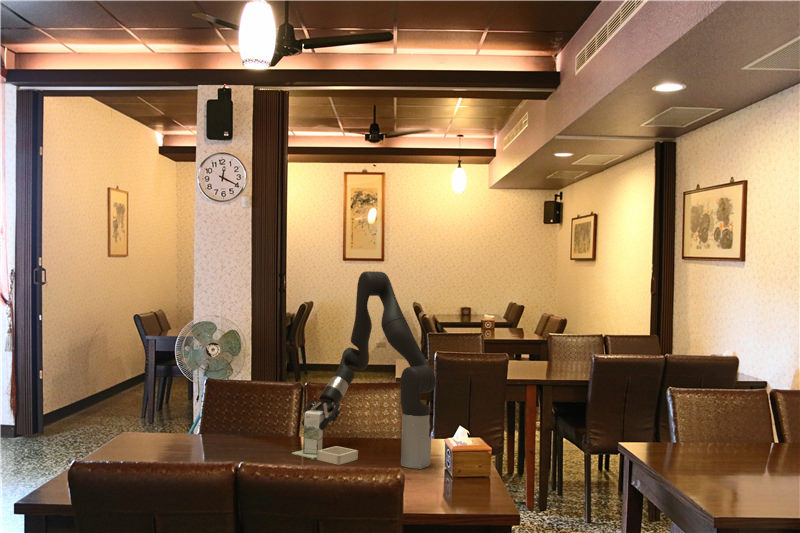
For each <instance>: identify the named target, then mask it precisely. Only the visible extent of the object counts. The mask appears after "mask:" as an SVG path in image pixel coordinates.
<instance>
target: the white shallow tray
mask: <svg viewBox="0 0 800 533" xmlns="http://www.w3.org/2000/svg"><path fill="white" fill-rule="evenodd" d="M291 455H295V456H299V457H304V458H308V459H310V460H311V461H313V460H317V461H319V462H325V463H329V464H335V465H337V466H340V465H344V464H346V463H351V462H353V461H357V460H358V459H359V450H357V449H352V448H349V447H348V448H347V447H343V446H338V445H335V446H331V447H327V448H322V450H319V451H317V454H305V453H303V449H301V450H298V451H297V450H296V451H294V452H291Z"/></svg>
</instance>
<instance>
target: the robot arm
mask: <svg viewBox="0 0 800 533" xmlns="http://www.w3.org/2000/svg"><path fill="white" fill-rule="evenodd" d="M356 286H357V287H356V300H355V315H354V316H355V318H354V322H353V328H352V331H351V336H350V343H351V344H352V345H353V346H354V347H356V348H354V347H347V348H346V349H344V351H343V353H342V356H341V360H340V362H339V365H338V368H337V370H336V371H335V373H334V375H333V376H332V378H330V380H329V381H328V383H327V384H326V385H325V387H324V388H323V391H322V392H321V393H320V394H319V399H318V401H315V400H314V399H311V400H310V401H309V403H308V404H307V405H306V406H305V408H304V409H303V414H304V415H305V412H306V411H308V410H311V411H323V413H324V416H323V421H322V422H321V424H320V425H319V428H320V429H321V430H323V431H324V430H325V429H326V428H327V427H328V424H329V423H330V422H333V423H334V422H335V421H337V418H339V415H340V413H341V412H342V407H341V406H340V405H339V404H340V403H341V401H342V399H343V398H344V396H345V394H346V393H347V390H348V388H349V386H350V385H351V384H352V382H353V380H354V379H355V372H354V371H353V370H352V369H351V368H353V369H355V370H358V371H364V370H365V369H367V367H368V366H369V362H370V352H369V351H370V350H369V347H370V346H369V342H370V337H371V333H372V329H373V328H372V327H373V324H372V318H371V316H370V313H369V308H368V302H369V298H370V297H379V299H380V301H381V303H382V307H383V312H382V315H381V321H380V324H381V329H382V332H383V334H384V336H385V339H386V340H387V343H388V344H389V345H390V346H391V347H392V348H393V349H394V350H395V351H396V352H397V353H399V354H400V355H401V356H402V357H403V358H404V359H405V360H406V362H407V363H408V365H409V366H408V367H405V368H404V369H403V370H402V372H401V376H400V404H401V409H402V417H401V418H402V420H401V421H402V422H401V445H400V446H401V448H400V449H401V450H400V465H401V467H405V468H409V469H420V470H422V469H424V468H427V467H428V468H429V467H430V466H431V459H432V458H431V456H432V437H431V436H430V411H431V410H430V406H429V404H426V403H424V402H422V400H421V394H425V393H426V394H427V393H431V392H432V391H433V390H434V389H435V387H436V382H437V380H436V375H435V372H434V369H433V368H432V367H431V365H430V363H429V361H428V359H427V358H426V357H425V354H424V353H423V352H422V350H421V348H420V346H419V345H418V344H419V343H418V341H416V338H415V337H414V335H413V332H412V330H411V327H410V326H409V323H408V322H407V319H406V317H405V315H404V312H403V311H402V309H401V307H400V304H399V302H398V299H397V297H396V294H395V291H394V288H393V285H392V282H391V279H390V278H389V276H388V274H386V272H384V271H375V270H374V271H371V270H370V271H369V270H367V271H363V272H361V274H360V275H359V277H358V282H357V285H356ZM350 367H351V368H350ZM301 425H302V426H303V427H304V418H303V419H302V420H301Z"/></svg>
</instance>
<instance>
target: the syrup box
mask: <svg viewBox="0 0 800 533" xmlns="http://www.w3.org/2000/svg"><path fill="white" fill-rule="evenodd" d="M324 417H325V416H324V413H323V411H316V410H314V411H311V410H308V411H306V412H305V414H304V418H303V419H304V426H303V440H302V450H303V453H305V454H317V451H319V450H323V436H324V435H323V434H324V430H321V429H320V428H319V425H320V424H321V422H322V421H323V419H324Z"/></svg>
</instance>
